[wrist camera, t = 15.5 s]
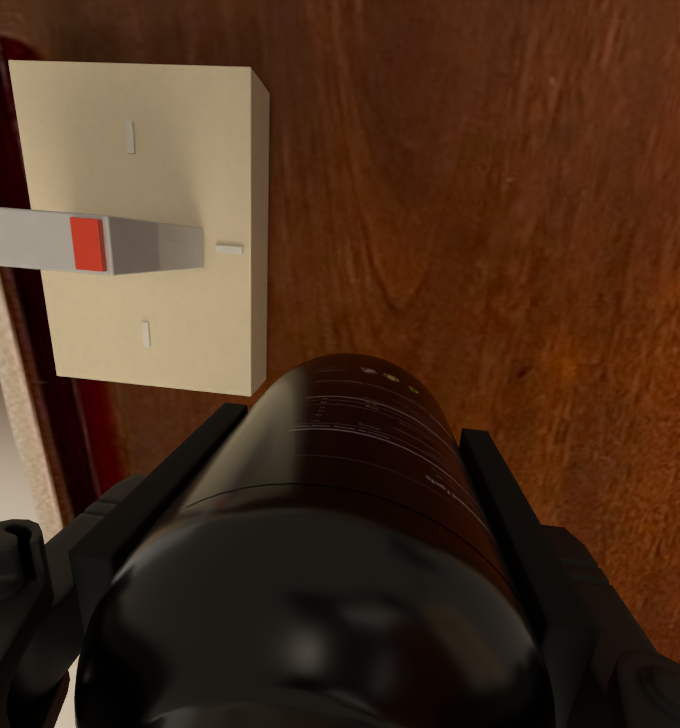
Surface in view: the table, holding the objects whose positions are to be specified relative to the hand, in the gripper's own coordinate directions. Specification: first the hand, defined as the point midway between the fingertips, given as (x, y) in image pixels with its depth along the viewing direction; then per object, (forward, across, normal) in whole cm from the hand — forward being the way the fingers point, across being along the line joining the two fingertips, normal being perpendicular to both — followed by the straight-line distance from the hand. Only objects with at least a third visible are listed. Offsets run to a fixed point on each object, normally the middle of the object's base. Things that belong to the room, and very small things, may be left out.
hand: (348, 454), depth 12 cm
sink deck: (+12, -12, +6) cm, 18 cm away
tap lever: (+9, -12, +6) cm, 16 cm away
